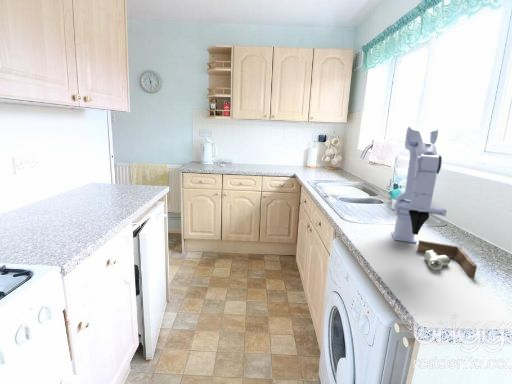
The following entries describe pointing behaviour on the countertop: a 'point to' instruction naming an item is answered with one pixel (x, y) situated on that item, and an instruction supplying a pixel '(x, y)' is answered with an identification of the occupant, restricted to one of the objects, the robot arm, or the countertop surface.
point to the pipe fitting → (436, 260)
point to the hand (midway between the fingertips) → (414, 233)
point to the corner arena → (450, 255)
